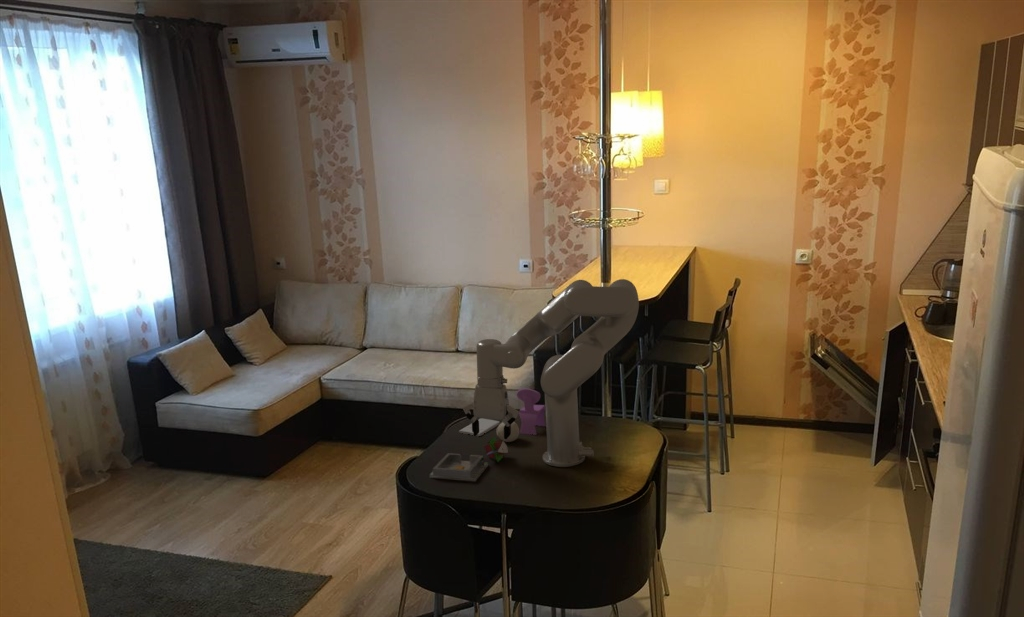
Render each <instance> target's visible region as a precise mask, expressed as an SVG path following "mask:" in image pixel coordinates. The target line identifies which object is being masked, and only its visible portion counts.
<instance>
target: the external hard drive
mask: <svg viewBox="0 0 1024 617" xmlns="http://www.w3.org/2000/svg"><path fill="white" fill-rule="evenodd" d="M477 420H478V421H479V433H478V434H477V435H476V436H474V433H473V432H472V423H469V425H467V426H465V427H463V428H462V429H460V430H458V433H459V434H462V433H463V434H462V435H468V434H470V436H472V435H473V436H472V437H478V436H480V437H481V436H483V435H485V434H487V433H488V432H490V431H491V430H493V429H495V428H497V427H498V426H499V425H500V424H501V422H500V420H494V419H483V418H478V419H477ZM484 433H485V434H484Z"/></svg>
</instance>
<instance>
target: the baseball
mask: <svg viewBox="0 0 1024 617" xmlns="http://www.w3.org/2000/svg"><path fill="white" fill-rule="evenodd" d="M504 426H505V424H504V423H503V421H501V422H500V425H498V426H497V427H496V437H499V440H503V441H504V442H505V443H512V442H514V441H515V440H517V439H518V438H519V435H520V433H519V431H520V428H519V425H518V424H517V423H516V422H515V421H514V422H513V423H512V424H511V435H510V436H509V437H508V438H507V439H504Z"/></svg>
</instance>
